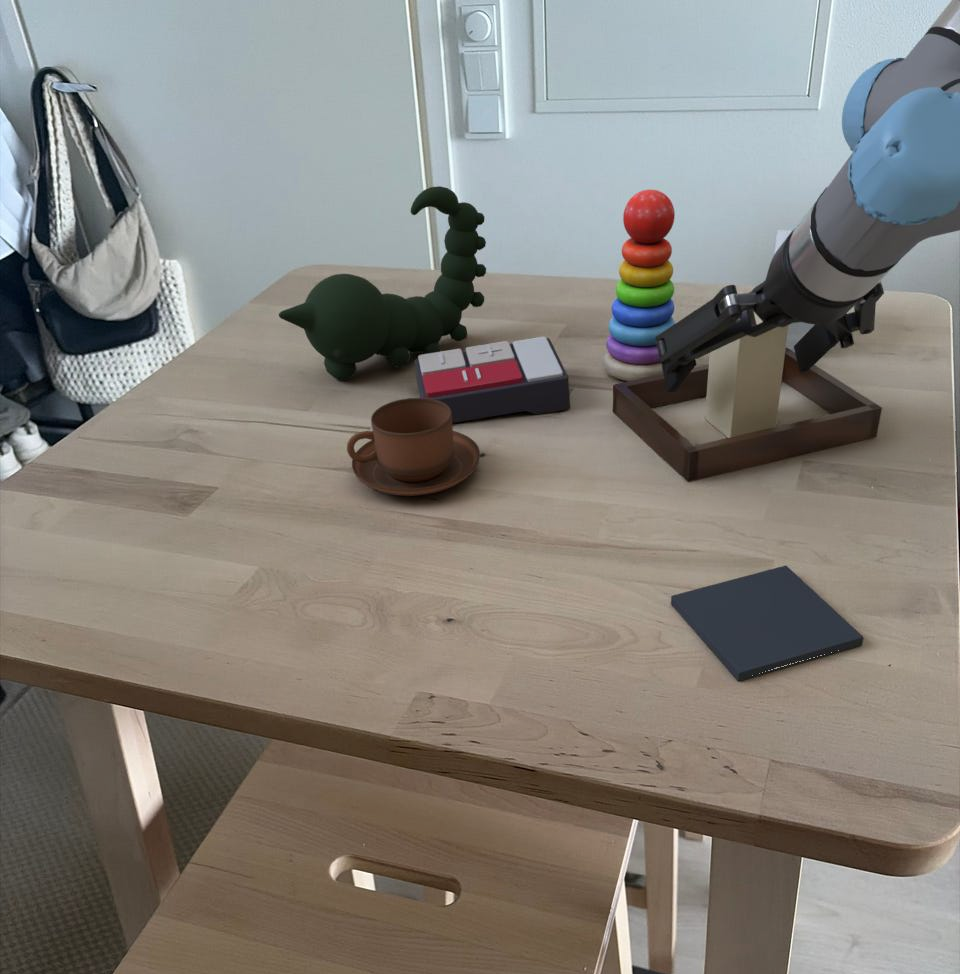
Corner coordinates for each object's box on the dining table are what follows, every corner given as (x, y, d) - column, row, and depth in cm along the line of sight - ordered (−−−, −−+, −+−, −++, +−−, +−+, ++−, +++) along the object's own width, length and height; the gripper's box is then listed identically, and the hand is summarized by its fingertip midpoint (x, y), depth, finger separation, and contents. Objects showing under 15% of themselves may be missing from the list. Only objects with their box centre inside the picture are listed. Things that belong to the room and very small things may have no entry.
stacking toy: (596, 382, 111) (598, 200, 99) (611, 353, 117) (614, 178, 105) (670, 387, 109) (680, 202, 97) (681, 357, 115) (692, 179, 103)
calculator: (412, 352, 111) (548, 329, 112) (418, 388, 114) (551, 367, 114) (421, 394, 103) (568, 370, 103) (427, 433, 105) (571, 409, 106)
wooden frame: (783, 374, 110) (787, 347, 108) (876, 436, 98) (882, 407, 96) (612, 411, 105) (612, 384, 103) (687, 482, 93) (689, 452, 91)
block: (748, 408, 104) (760, 301, 97) (775, 429, 100) (789, 318, 93) (704, 418, 103) (712, 310, 96) (730, 439, 99) (740, 328, 92)
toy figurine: (455, 338, 128) (268, 377, 116) (455, 173, 117) (249, 198, 105) (498, 361, 121) (305, 404, 110) (502, 189, 110) (288, 217, 99)
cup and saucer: (394, 522, 91) (385, 459, 87) (332, 471, 99) (322, 412, 95) (506, 478, 96) (502, 418, 92) (438, 433, 104) (433, 376, 100)
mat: (784, 573, 81) (786, 565, 80) (862, 645, 73) (864, 636, 73) (670, 603, 79) (670, 595, 78) (737, 681, 71) (739, 673, 71)
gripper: (968, 193, 81) (845, 315, 102) (667, 233, 78) (603, 350, 99) (992, 282, 80) (862, 386, 101) (689, 326, 77) (620, 424, 98)
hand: (734, 368), depth 100 cm, fingers open, 13 cm apart
